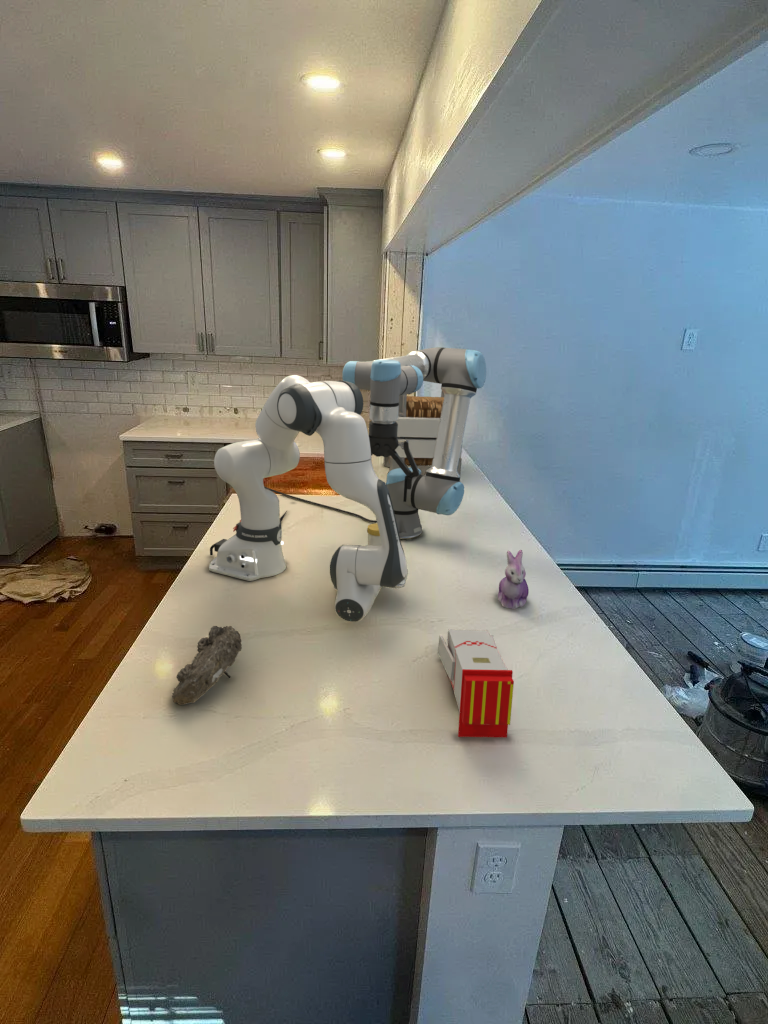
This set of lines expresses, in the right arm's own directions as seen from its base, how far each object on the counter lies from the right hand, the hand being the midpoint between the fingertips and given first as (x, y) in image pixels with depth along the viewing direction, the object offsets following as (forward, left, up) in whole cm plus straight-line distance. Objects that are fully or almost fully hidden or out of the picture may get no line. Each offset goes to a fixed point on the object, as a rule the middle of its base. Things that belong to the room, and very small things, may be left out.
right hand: (380, 498), depth 155 cm
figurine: (+31, +23, -26) cm, 46 cm away
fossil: (+13, -56, -26) cm, 63 cm away
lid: (0, 0, -9) cm, 9 cm away
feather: (-63, +8, -26) cm, 69 cm away
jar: (0, 0, -26) cm, 26 cm away
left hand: (-1, 0, -19) cm, 19 cm away
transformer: (-77, +92, -26) cm, 122 cm away
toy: (+50, -16, -26) cm, 58 cm away
